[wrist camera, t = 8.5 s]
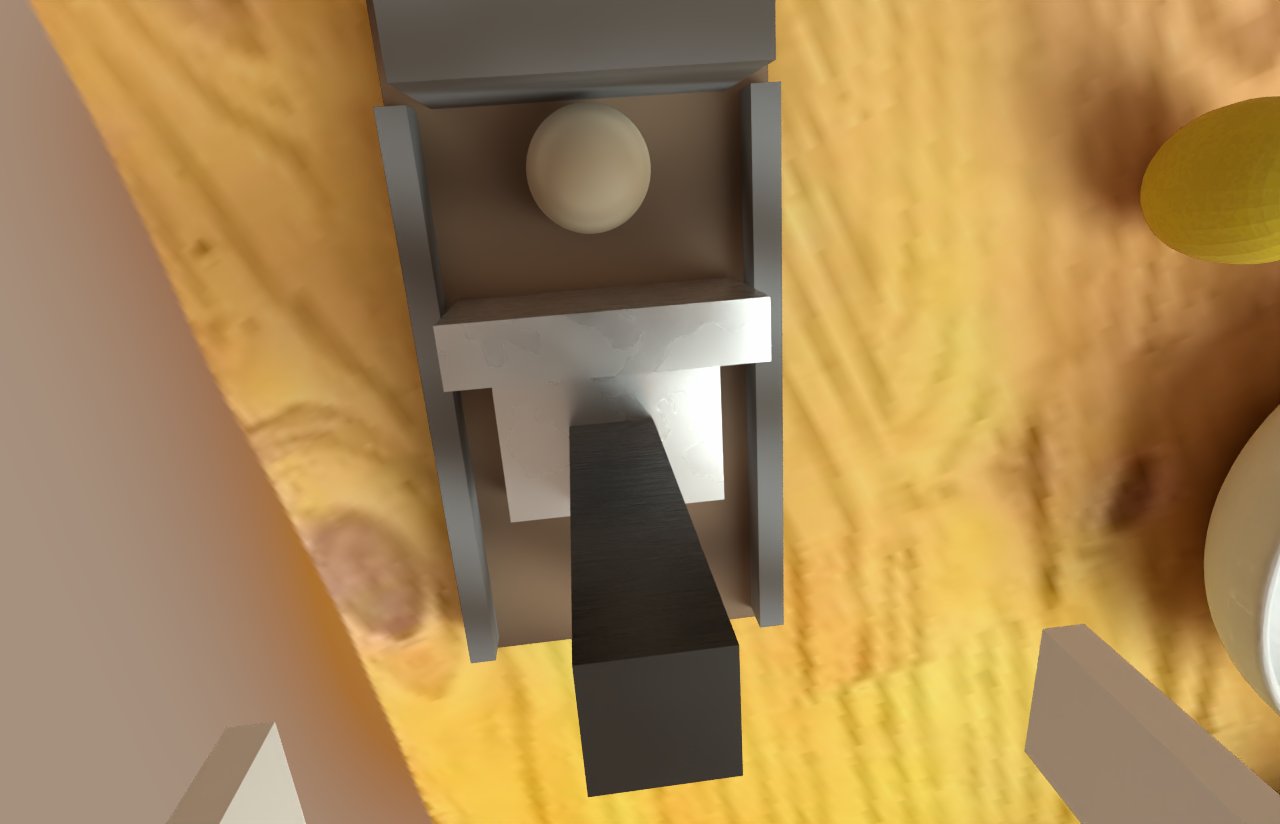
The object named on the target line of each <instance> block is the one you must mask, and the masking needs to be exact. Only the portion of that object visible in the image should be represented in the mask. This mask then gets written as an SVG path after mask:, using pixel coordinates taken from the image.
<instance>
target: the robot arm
mask: <svg viewBox="0 0 1280 824" xmlns="http://www.w3.org/2000/svg"><path fill="white" fill-rule="evenodd" d="M1025 752H1026V754H1027V755H1028V756H1029V757H1030V759H1031V760H1032V761H1033V763H1034V764H1035V765H1036V766H1037V768H1038V769H1039V770H1040V771H1041V773H1042V774H1043V775H1044V777H1045V778H1046V779H1047V780H1048V782H1049V783H1050V784H1051V785H1052V787H1053V788H1054V789H1055V791H1056V792H1057V793H1058V794H1059V796H1060V797H1061V798H1062V799H1063V801H1064V802H1065V803H1066V805H1067V806H1068V807H1069V808H1070V810H1071V811H1072V812H1073V813H1074V815H1075V816H1076V817H1077V819H1078V820H1079V821H1080V822H1081V824H1280V795H1279V794H1278V793H1277V792H1276V791H1275V790H1273V789H1272V788H1271V787H1270V786H1269V785H1268V784H1267V783H1265V782H1264V781H1263V780H1262V779H1261V778H1260V777H1259V776H1257V775H1256V774H1255V773H1254V772H1253V771H1252V770H1251V769H1249V768H1248V767H1247V766H1246V765H1245V764H1244V763H1243V762H1241V761H1240V760H1239V759H1238V758H1237V757H1236V756H1235V755H1233V754H1232V753H1231V752H1230V751H1229V750H1228V749H1227V748H1225V747H1224V746H1223V745H1222V744H1221V743H1220V742H1219V741H1217V740H1216V739H1215V738H1214V737H1213V736H1212V735H1211V734H1209V733H1208V732H1207V731H1206V730H1205V729H1204V728H1203V727H1201V726H1200V725H1199V724H1198V723H1197V722H1196V721H1195V720H1193V719H1192V718H1191V717H1190V716H1189V715H1188V714H1187V713H1185V712H1184V711H1183V710H1182V709H1181V708H1180V707H1179V706H1177V705H1176V704H1175V703H1174V702H1173V701H1172V700H1171V699H1169V698H1168V697H1167V696H1166V695H1165V694H1164V693H1163V692H1161V691H1160V690H1159V689H1158V688H1157V687H1156V686H1155V685H1153V684H1152V683H1151V682H1150V681H1149V680H1148V679H1147V678H1145V677H1144V676H1143V675H1142V674H1141V673H1140V672H1139V671H1137V670H1136V669H1135V668H1134V667H1133V666H1132V665H1131V664H1129V663H1128V662H1127V661H1126V660H1125V659H1124V658H1123V657H1121V656H1120V655H1119V654H1118V653H1117V652H1116V651H1115V650H1113V649H1112V648H1111V647H1110V646H1109V645H1108V644H1107V643H1105V642H1104V641H1103V640H1102V639H1101V638H1100V637H1099V636H1097V635H1096V634H1095V633H1094V632H1093V631H1092V630H1091V629H1089V628H1088V627H1087V626H1086V625H1085V624H1080V625H1072V626H1063V627H1055V628H1047V629H1043V631H1042V638H1041V645H1040V651H1039V658H1038V665H1037V671H1036V678H1035V685H1034V691H1033V698H1032V705H1031V711H1030V718H1029V725H1028V731H1027V738H1026V745H1025ZM166 824H306V822H305V819H304V816H303V812H302V809H301V806H300V802H299V799H298V796H297V793H296V789H295V786H294V783H293V779H292V776H291V773H290V770H289V766H288V763H287V760H286V757H285V754H284V750H283V747H282V744H281V740H280V737H279V734H278V731H277V727H276V724H275V722H269V723H260V724H252V725H244V726H236V727H228V728H226V729H225V731H224V732H223V734H222V736H221V737H220V739H219V740H218V742H217V744H216V745H215V747H214V748H213V750H212V752H211V753H210V755H209V756H208V758H207V759H206V761H205V763H204V764H203V766H202V767H201V769H200V771H199V772H198V774H197V775H196V777H195V779H194V780H193V782H192V783H191V785H190V787H189V788H188V790H187V791H186V793H185V795H184V796H183V798H182V799H181V801H180V803H179V804H178V806H177V807H176V809H175V811H174V812H173V814H172V815H171V817H170V819H169V820H168V822H167V823H166Z"/></svg>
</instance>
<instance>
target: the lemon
mask: <svg viewBox="0 0 1280 824" xmlns="http://www.w3.org/2000/svg"><path fill="white" fill-rule="evenodd" d="M1140 204H1141V208H1142V212H1143V216H1144V219H1145V221H1146V222H1147V224H1148V226H1149V227H1150V229H1151V231H1152V232H1153V233H1154V234H1155V235H1156V236H1157V237H1158V238H1159V239H1160V240H1161V241H1162V242H1164V243H1165V244H1166V245H1167V246H1169V247H1170V248H1172V249H1174V250H1176V251H1179V252H1181V253H1183V254H1186V255H1188V256H1190V257H1193V258H1196V259H1200V260H1204V261H1209V262H1217V263H1229V264H1259V263H1268V262H1274V261H1280V97H1262V98H1255V99H1249V100H1245V101H1241V102H1238V103H1234V104H1231V105H1228V106H1225V107H1222V108H1219V109H1216V110H1213V111H1210V112H1208V113H1206V114H1203V115H1202V116H1200V117H1198V118H1197V119H1195V120H1193V121H1192V122H1190V123H1188V124H1187V125H1185V126H1183V127H1182V128H1180V129H1179V130H1178V131H1177V132H1176V133H1174V134H1173V135H1172V136H1171V137H1170V138H1169V139H1168V140H1167V141H1166V142H1165V143H1164V144H1163V145H1162V146H1161V147H1160V149H1159V150H1158V151H1157V153H1156V154H1155V155H1154V157H1153V158H1152V160H1151V161H1150V163H1149V165H1148V167H1147V169H1146V171H1145V174H1144V176H1143V180H1142V185H1141V189H1140Z"/></svg>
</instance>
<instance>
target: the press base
mask: <svg viewBox="0 0 1280 824" xmlns="http://www.w3.org/2000/svg"><path fill="white" fill-rule="evenodd" d="M366 3H367V9H368V15H369V20H370V26H371V32H372V38H373V44H374V50H375V56H376V61H377V67H378V73H379V79H380V85H381V91H382V96H383V102H384V107H373V109H374V114H375V120H376V126H377V131H378V137H379V143H380V149H381V154H382V160H383V166H384V171H385V177H386V183H387V188H388V194H389V200H390V205H391V211H392V217H393V223H394V228H395V234H396V240H397V245H398V251H399V257H400V262H401V268H402V274H403V280H404V285H405V291H406V297H407V302H408V308H409V314H410V319H411V325H412V331H413V336H414V342H415V348H416V354H417V359H418V365H419V371H420V376H421V382H422V388H423V393H424V399H425V405H426V411H427V416H428V422H429V428H430V433H431V439H432V445H433V450H434V456H435V462H436V467H437V473H438V479H439V485H440V490H441V496H442V502H443V507H444V513H445V519H446V524H447V530H448V536H449V541H450V547H451V553H452V559H453V564H454V570H455V576H456V581H457V587H458V593H459V598H460V604H461V610H462V616H463V621H464V627H465V633H466V638H467V644H468V650H469V655H470V661H471V663H477V662H485V661H493V660H496V655H497V648H499V647H507V646H516V645H524V644H532V643H540V642H548V641H557V640H565V639H572V607H571V530H570V516H566V517H557V518H548V519H539V520H530V521H521V522H511V520H510V513H509V506H508V499H507V492H506V484H505V477H504V470H503V463H502V456H501V449H500V442H499V435H498V428H497V421H496V414H495V407H494V400H493V393H492V388H482V389H471V390H460V391H450V392H444V389H443V383H442V377H441V371H440V365H439V359H438V353H437V347H436V341H435V335H434V329H433V326H434V324H435V323H436V322H437V321H438V320H439V319H440V318H441V317H442V316H443V315H444V314H445V313H446V312H447V311H448V310H449V309H450V308H451V307H452V306H453V305H454V304H455V303H456V302H457V301H458V300H463V299H475V298H487V297H499V296H511V295H523V294H535V293H546V292H558V291H570V290H582V289H594V288H606V287H618V286H629V285H641V284H653V283H665V282H677V281H689V280H701V279H712V278H724V277H734V278H736V279H738V280H740V281H742V282H743V283H745V284H747V285H749V286H751V287H753V288H755V289H757V290H759V291H761V292H763V293H764V294H766V295H768V296H770V297H771V361H768V362H758V363H747V364H737V365H726V366H720V385H721V414H722V443H723V472H724V499H723V500H713V501H704V502H695V503H686V507H687V509H688V512H689V515H690V517H691V520H692V523H693V525H694V528H695V530H696V533H697V536H698V538H699V541H700V544H701V546H702V549H703V551H704V554H705V557H706V559H707V562H708V565H709V567H710V570H711V573H712V575H713V578H714V580H715V583H716V586H717V588H718V591H719V594H720V596H721V599H722V601H723V604H724V607H725V609H726V612H727V615H728V617H729V619H736V618H745V617H753V616H755V617H756V619H757V621H758V624H759V626H760V627H768V626H776V625H784V613H783V411H782V208H781V82H768V64H769V63H771V62H772V61H774V60H776V38H775V0H366ZM579 102H595V103H600V104H604V105H607V106H610V107H612V108H614V109H616V110H618V111H619V112H621V113H622V114H624V115H625V116H626V117H627V118H629V119H630V120H631V121H632V123H633V124H634V125H635V126H636V127H637V129H638V130H639V131H640V133H641V135H642V137H643V139H644V140H645V143H646V146H647V148H648V152H649V156H650V164H651V175H650V183H649V187H648V191H647V193H646V196H645V198H644V200H643V202H642V204H641V206H640V207H639V208H638V210H637V211H636V212H635V213H634V215H633V216H632V217H631V218H630V219H628V220H627V221H626V222H625V223H623V224H622V225H620V226H618V227H616V228H614V229H612V230H609V231H606V232H603V233H596V234H584V233H577V232H574V231H570V230H568V229H565V228H563V227H561V226H559V225H558V224H556V223H555V222H553V221H552V220H551V219H549V218H548V217H547V216H546V215H545V214H544V213H543V211H542V210H541V209H540V208H539V206H538V205H537V203H536V201H535V200H534V198H533V196H532V193H531V191H530V188H529V185H528V181H527V175H526V158H527V153H528V148H529V145H530V142H531V139H532V137H533V135H534V133H535V132H536V130H537V129H538V127H539V126H540V124H541V123H542V122H543V121H544V120H545V119H546V118H547V117H548V116H549V115H551V114H552V113H553V112H555V111H556V110H558V109H560V108H562V107H564V106H567V105H570V104H573V103H579Z"/></svg>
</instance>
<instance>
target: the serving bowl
mask: <svg viewBox="0 0 1280 824" xmlns="http://www.w3.org/2000/svg"><path fill="white" fill-rule="evenodd" d="M1204 579H1205V589H1206V595H1207V601H1208V605H1209V609H1210V613H1211V617H1212V620H1213V622H1214V625H1215V628H1216V631H1217V633H1218V635H1219V638H1220V640H1221V642H1222V644H1223V646H1224V648H1225V649H1226V651H1227V653H1228V655H1229V657H1230V658H1231V660H1232V661H1233V663H1234V665H1235V666H1236V668H1237V669H1238V671H1239V672H1240V673H1241V675H1242V676H1243V677H1244V679H1245V680H1246V681H1247V682H1248V683H1249V685H1250V686H1251V687H1252V688H1253V689H1254V690H1255V692H1256V693H1257V694H1258V695H1259V696H1260V697H1261V698H1262V699H1263V700H1264V701H1265V702H1266V703H1267V704H1268V705H1269V706H1270V707H1271V708H1272V709H1273V710H1274V711H1275V712H1276V713H1277V714H1278V715H1279V716H1280V405H1279V406H1278V407H1277V408H1276V409H1275V410H1274V411H1273V412H1272V413H1271V414H1270V415H1269V416H1268V417H1267V418H1266V419H1265V421H1264V422H1263V423H1262V424H1261V425H1260V427H1259V428H1258V429H1257V430H1256V432H1255V433H1254V434H1253V435H1252V437H1251V438H1250V439H1249V441H1248V442H1247V444H1246V445H1245V446H1244V448H1243V449H1242V451H1241V452H1240V454H1239V456H1238V457H1237V459H1236V460H1235V462H1234V464H1233V466H1232V467H1231V469H1230V471H1229V473H1228V475H1227V477H1226V479H1225V481H1224V482H1223V485H1222V487H1221V489H1220V492H1219V494H1218V496H1217V499H1216V502H1215V505H1214V508H1213V511H1212V514H1211V518H1210V522H1209V526H1208V530H1207V536H1206V543H1205V552H1204Z"/></svg>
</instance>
